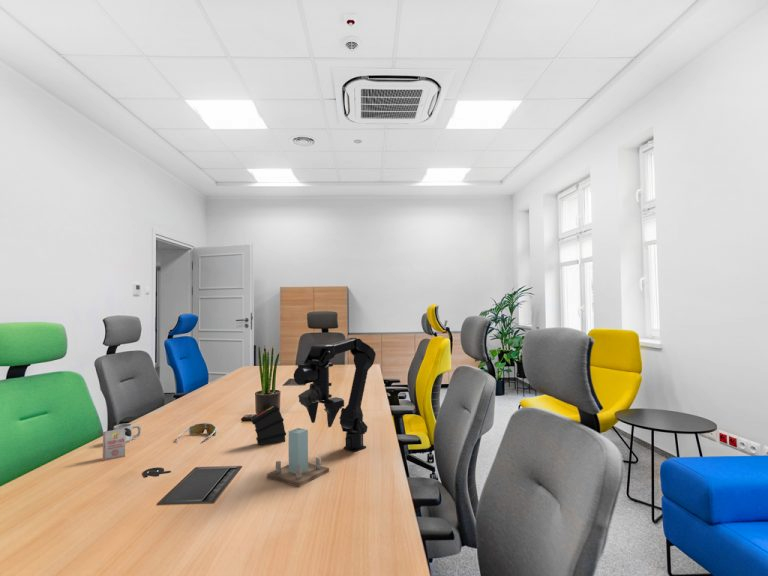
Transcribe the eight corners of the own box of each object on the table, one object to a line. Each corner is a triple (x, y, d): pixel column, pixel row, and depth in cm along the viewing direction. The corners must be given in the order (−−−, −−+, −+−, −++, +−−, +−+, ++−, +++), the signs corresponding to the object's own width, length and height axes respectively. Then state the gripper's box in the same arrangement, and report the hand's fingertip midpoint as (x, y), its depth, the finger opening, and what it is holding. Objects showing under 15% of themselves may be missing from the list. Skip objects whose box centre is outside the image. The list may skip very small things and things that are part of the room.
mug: (114, 445, 173) (115, 428, 173) (112, 441, 178) (112, 425, 178) (142, 440, 179) (142, 424, 180) (139, 436, 184) (139, 421, 185)
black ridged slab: (293, 436, 175) (277, 404, 173) (263, 455, 170) (246, 422, 168) (291, 434, 178) (275, 403, 176) (262, 452, 173) (245, 420, 171)
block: (298, 467, 142) (298, 428, 142) (308, 470, 139) (307, 429, 140) (288, 471, 138) (288, 431, 139) (298, 474, 136) (298, 433, 136)
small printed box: (102, 458, 158) (103, 430, 158) (123, 454, 162) (124, 427, 162) (103, 460, 155) (103, 433, 155) (125, 456, 159) (125, 429, 159)
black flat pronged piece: (174, 471, 144) (174, 469, 144) (156, 480, 137) (156, 478, 137) (153, 468, 147) (153, 466, 147) (134, 477, 140) (134, 474, 140)
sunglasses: (221, 433, 188) (221, 422, 187) (204, 449, 173) (203, 437, 172) (191, 432, 189) (190, 422, 188) (172, 448, 174) (171, 437, 174)
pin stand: (298, 463, 148) (298, 450, 149) (328, 471, 141) (328, 457, 141) (267, 477, 137) (267, 462, 137) (299, 486, 129) (299, 471, 129)
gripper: (286, 380, 151) (286, 425, 151) (319, 386, 139) (320, 435, 138) (311, 376, 160) (311, 418, 159) (344, 382, 147) (345, 427, 146)
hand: (321, 424), depth 150 cm, fingers open, 9 cm apart
